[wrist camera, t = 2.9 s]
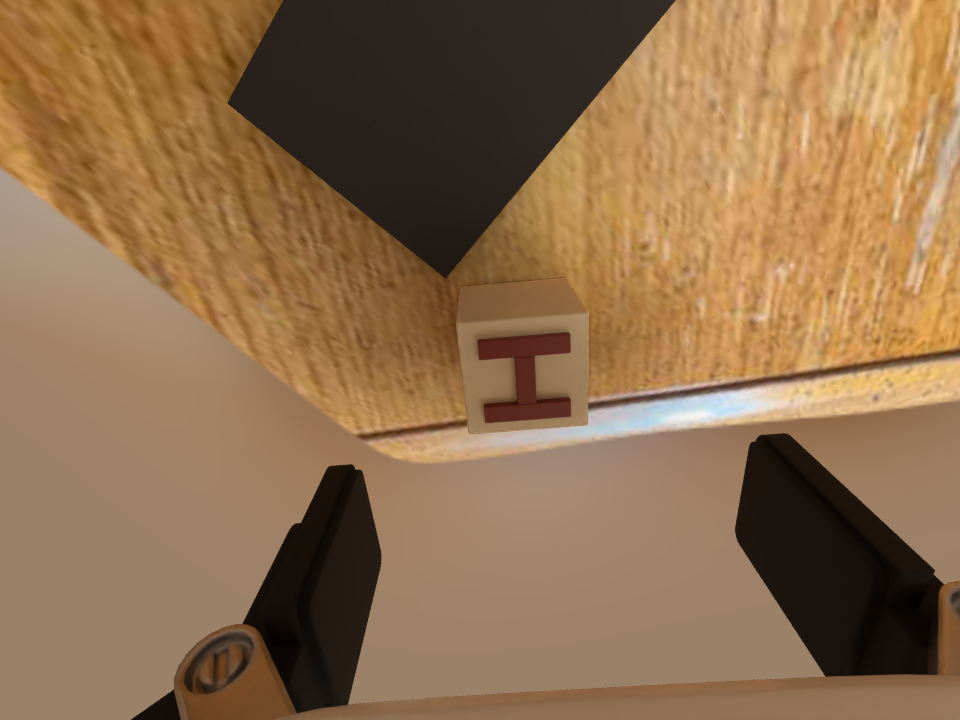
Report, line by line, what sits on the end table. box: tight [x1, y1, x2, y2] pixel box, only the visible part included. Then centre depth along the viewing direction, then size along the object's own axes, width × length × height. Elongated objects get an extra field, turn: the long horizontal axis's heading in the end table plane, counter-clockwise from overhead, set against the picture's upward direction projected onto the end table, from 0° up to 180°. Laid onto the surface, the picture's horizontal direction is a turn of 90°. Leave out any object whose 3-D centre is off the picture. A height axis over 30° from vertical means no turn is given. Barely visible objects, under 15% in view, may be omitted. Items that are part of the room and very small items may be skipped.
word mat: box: [228, 0, 675, 278], centre depth 16 cm, size 10×14×1 cm
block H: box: [456, 278, 589, 434], centre depth 19 cm, size 5×5×5 cm
